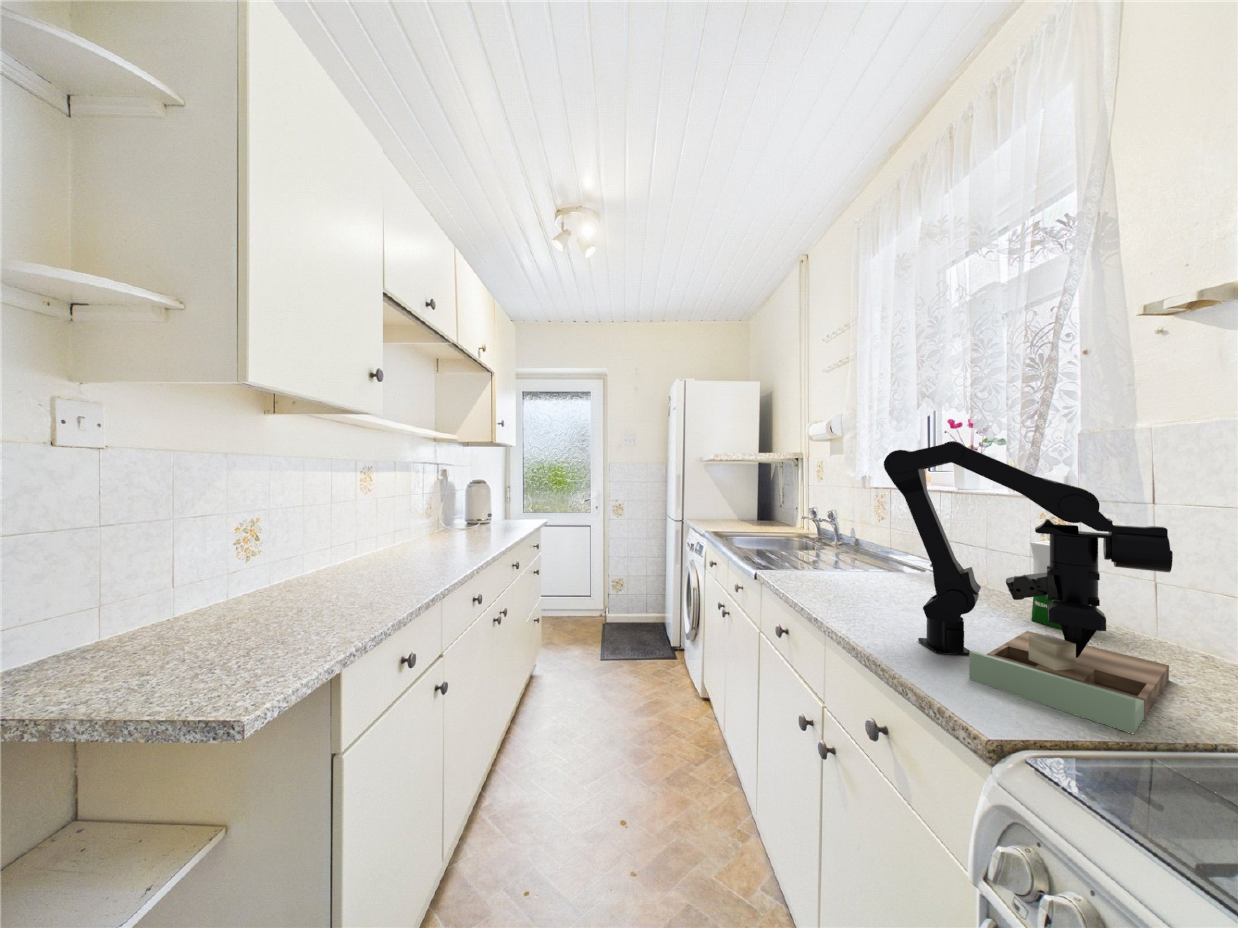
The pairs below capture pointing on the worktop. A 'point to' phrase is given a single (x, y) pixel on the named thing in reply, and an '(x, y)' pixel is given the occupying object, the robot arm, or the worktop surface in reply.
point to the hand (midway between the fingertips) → (1073, 656)
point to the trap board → (1098, 669)
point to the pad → (1058, 692)
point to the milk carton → (1039, 566)
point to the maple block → (1052, 652)
